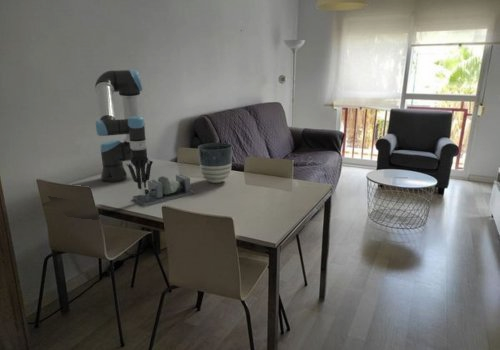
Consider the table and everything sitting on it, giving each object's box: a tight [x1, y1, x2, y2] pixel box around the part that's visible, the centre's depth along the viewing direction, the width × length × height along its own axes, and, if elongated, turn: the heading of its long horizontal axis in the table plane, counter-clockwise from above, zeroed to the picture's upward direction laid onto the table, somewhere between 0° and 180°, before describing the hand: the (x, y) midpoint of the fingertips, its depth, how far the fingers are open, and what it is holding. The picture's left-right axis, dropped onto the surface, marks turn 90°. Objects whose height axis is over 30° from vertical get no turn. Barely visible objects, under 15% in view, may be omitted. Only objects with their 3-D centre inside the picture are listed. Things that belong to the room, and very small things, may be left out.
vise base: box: [132, 173, 195, 207], centre depth 194 cm, size 14×28×9 cm, turn 130°
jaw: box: [145, 178, 163, 199], centre depth 190 cm, size 10×8×8 cm
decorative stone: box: [157, 175, 181, 195], centre depth 197 cm, size 13×11×10 cm
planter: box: [197, 142, 233, 184], centre depth 217 cm, size 20×20×21 cm
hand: (142, 194), depth 188 cm, fingers closed
